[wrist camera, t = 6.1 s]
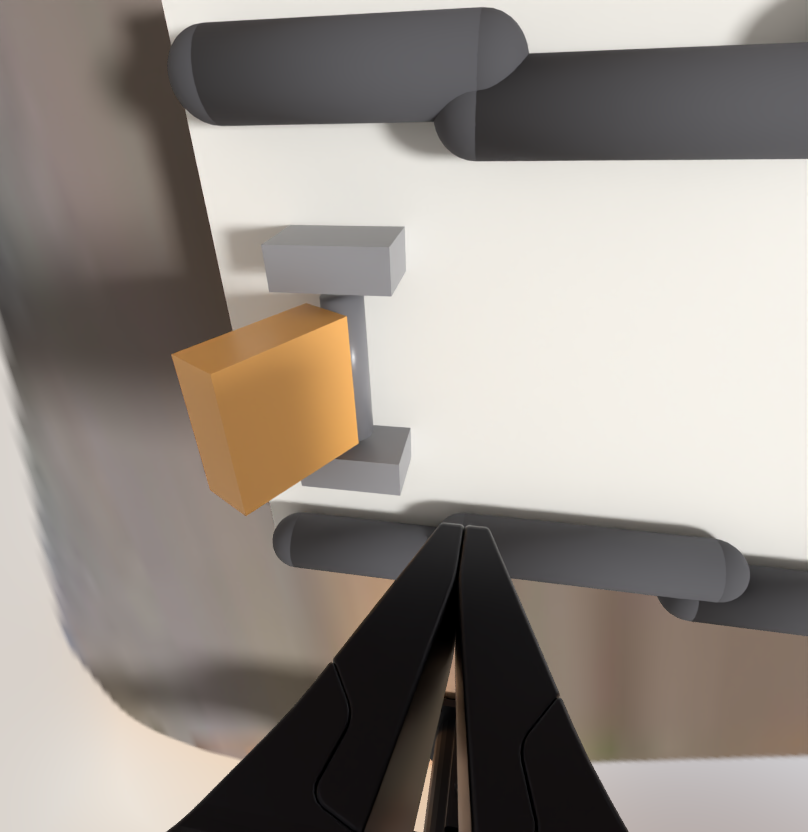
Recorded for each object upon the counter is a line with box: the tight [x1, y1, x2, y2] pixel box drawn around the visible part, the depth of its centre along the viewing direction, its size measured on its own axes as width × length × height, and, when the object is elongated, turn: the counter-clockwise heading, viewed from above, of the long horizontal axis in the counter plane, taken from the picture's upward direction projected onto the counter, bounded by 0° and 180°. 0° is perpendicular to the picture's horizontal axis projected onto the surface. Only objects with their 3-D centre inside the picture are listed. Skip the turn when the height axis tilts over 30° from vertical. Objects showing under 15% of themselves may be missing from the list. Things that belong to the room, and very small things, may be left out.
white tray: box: [162, 0, 808, 571], centre depth 16 cm, size 18×24×5 cm
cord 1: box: [167, 7, 808, 161], centre depth 11 cm, size 3×24×2 cm, turn 92°
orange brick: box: [171, 294, 374, 516], centre depth 15 cm, size 4×2×5 cm
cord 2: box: [273, 512, 808, 636], centre depth 18 cm, size 3×24×2 cm, turn 92°
